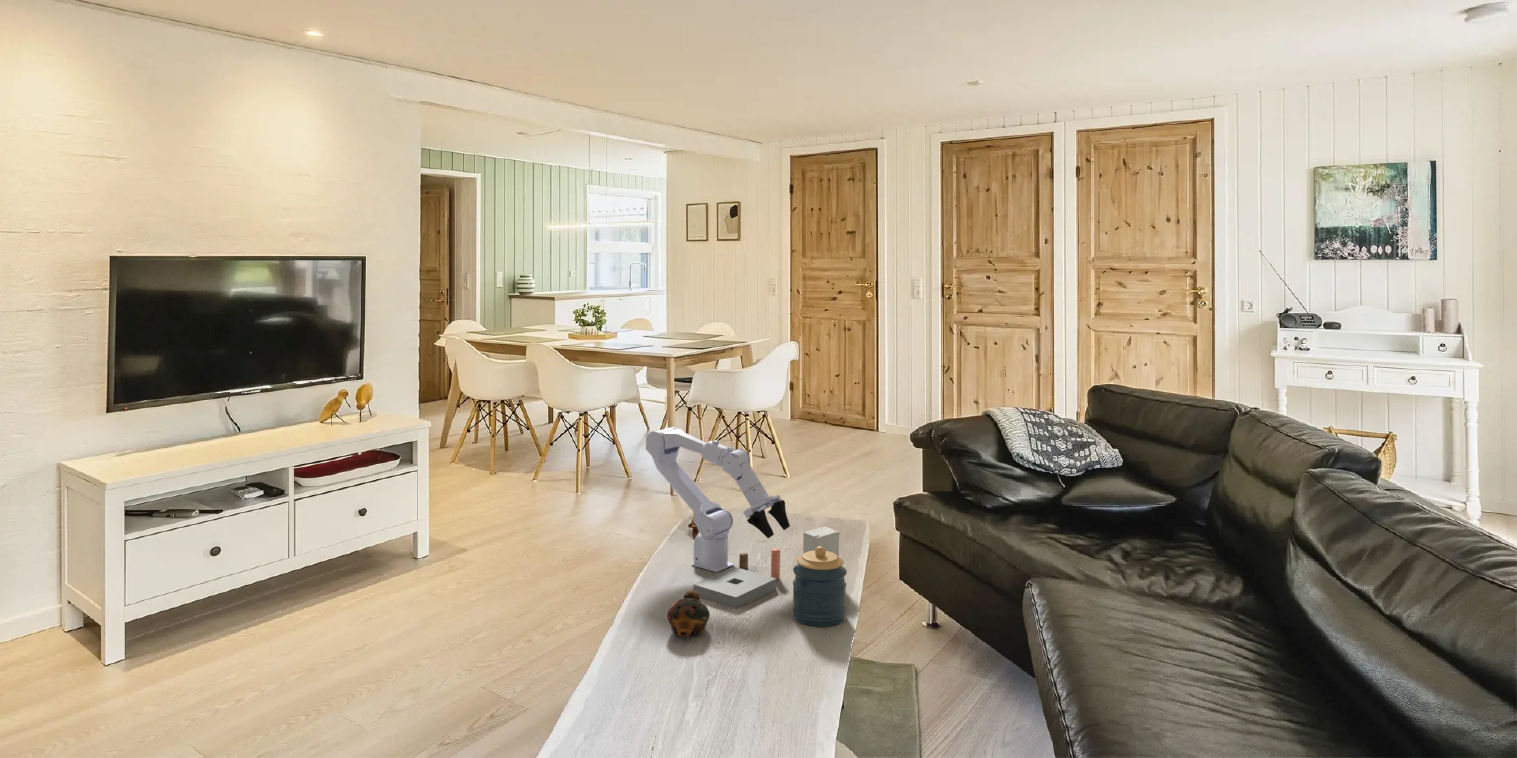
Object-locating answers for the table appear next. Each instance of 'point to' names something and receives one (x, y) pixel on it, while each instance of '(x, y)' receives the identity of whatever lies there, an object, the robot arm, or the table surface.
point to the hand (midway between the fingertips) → (779, 532)
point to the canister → (819, 588)
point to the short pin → (743, 561)
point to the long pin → (775, 563)
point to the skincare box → (821, 540)
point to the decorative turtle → (688, 615)
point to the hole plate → (735, 587)
